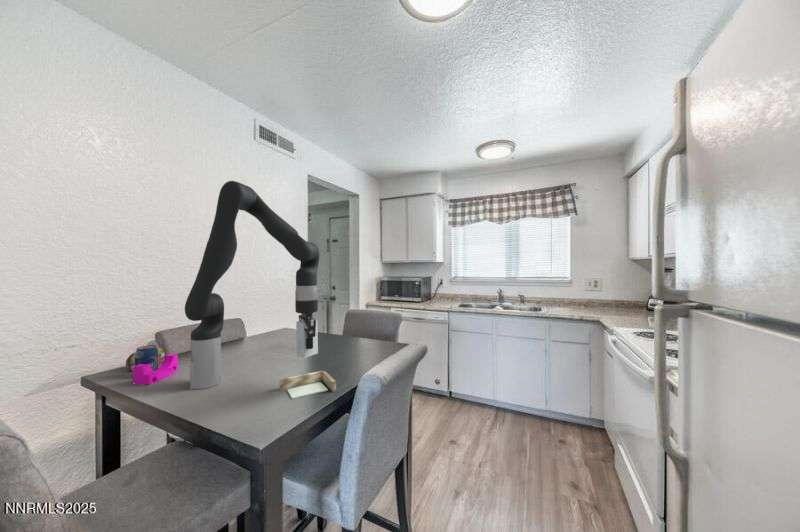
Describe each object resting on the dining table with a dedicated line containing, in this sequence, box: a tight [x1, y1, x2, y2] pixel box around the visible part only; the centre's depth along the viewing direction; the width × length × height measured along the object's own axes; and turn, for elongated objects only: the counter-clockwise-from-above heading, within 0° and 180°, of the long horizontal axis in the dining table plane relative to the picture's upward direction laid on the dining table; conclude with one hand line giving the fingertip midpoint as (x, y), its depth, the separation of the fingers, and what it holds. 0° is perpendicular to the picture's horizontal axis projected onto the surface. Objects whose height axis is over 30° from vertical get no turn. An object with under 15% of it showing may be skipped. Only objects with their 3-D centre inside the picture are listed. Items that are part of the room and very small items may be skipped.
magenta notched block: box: [132, 353, 179, 385], centre depth 113 cm, size 15×6×8 cm, turn 176°
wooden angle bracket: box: [278, 370, 337, 393], centre depth 102 cm, size 16×13×4 cm
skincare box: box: [295, 319, 319, 359], centre depth 102 cm, size 6×4×12 cm
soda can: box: [134, 344, 159, 371], centre depth 115 cm, size 7×7×12 cm
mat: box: [286, 381, 329, 400], centre depth 102 cm, size 12×8×1 cm, turn 122°
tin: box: [125, 346, 167, 372], centre depth 124 cm, size 15×3×8 cm, turn 169°
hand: (307, 346), depth 102 cm, fingers closed on skincare box, 5 cm apart
